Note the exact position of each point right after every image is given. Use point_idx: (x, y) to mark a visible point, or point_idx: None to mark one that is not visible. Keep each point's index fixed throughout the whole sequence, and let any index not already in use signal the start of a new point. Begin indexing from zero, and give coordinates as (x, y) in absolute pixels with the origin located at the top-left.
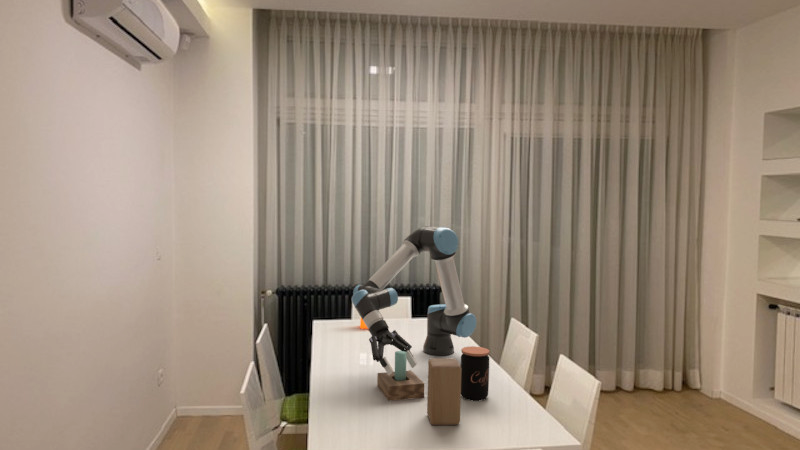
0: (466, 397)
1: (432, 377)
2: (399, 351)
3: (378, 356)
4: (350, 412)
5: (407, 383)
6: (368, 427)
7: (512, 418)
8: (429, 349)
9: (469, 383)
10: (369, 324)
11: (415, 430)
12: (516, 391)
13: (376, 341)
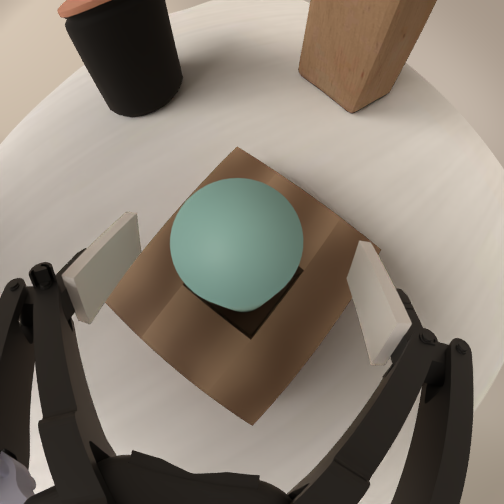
0: (180, 84)
1: (430, 11)
2: (210, 272)
3: (456, 340)
4: (476, 295)
5: (291, 201)
6: (486, 200)
7: (234, 19)
8: None
9: (175, 46)
10: None
11: (426, 113)
12: (82, 70)
13: (433, 501)
